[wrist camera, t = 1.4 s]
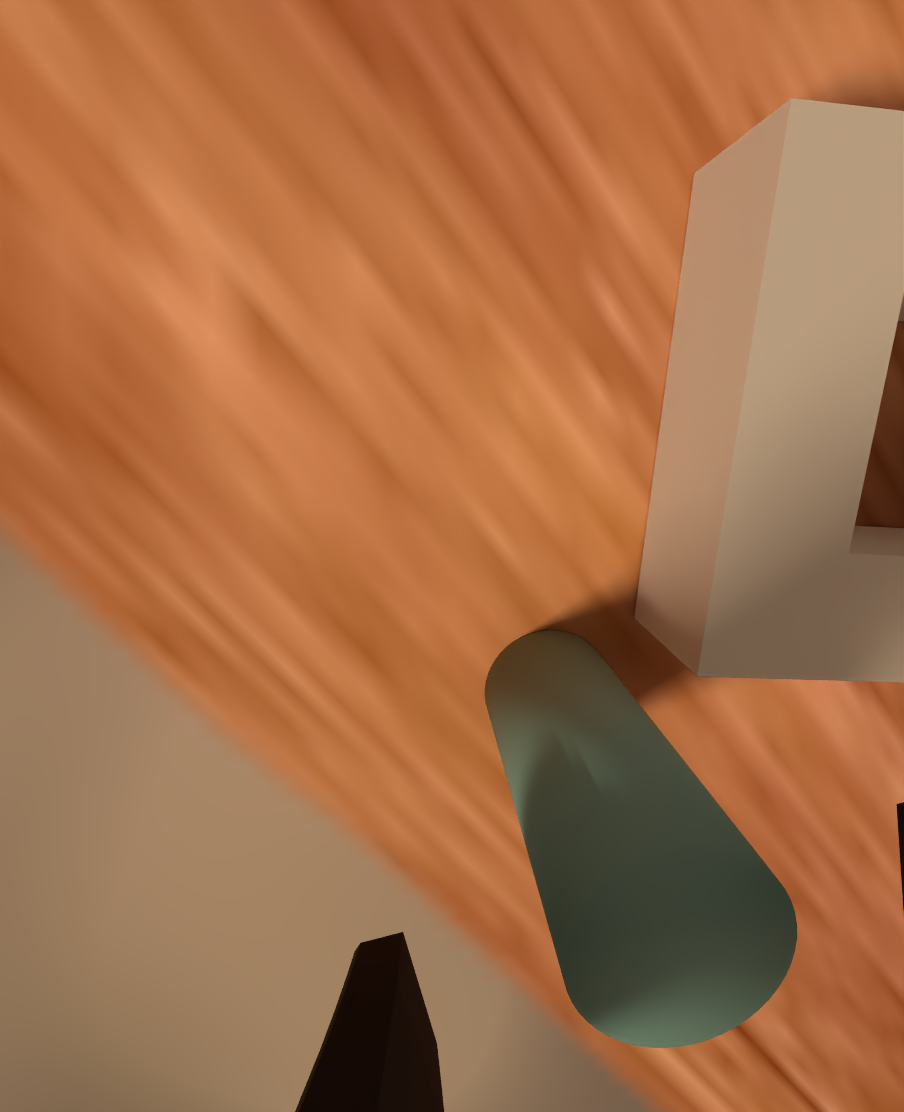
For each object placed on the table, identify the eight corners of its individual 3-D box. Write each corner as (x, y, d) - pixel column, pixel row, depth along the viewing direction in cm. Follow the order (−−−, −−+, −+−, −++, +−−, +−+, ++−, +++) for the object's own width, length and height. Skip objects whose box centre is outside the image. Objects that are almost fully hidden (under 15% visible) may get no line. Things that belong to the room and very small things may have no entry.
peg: (616, 632, 16) (817, 847, 8) (601, 747, 17) (774, 1044, 9) (489, 628, 16) (575, 846, 8) (480, 745, 16) (550, 1051, 9)
